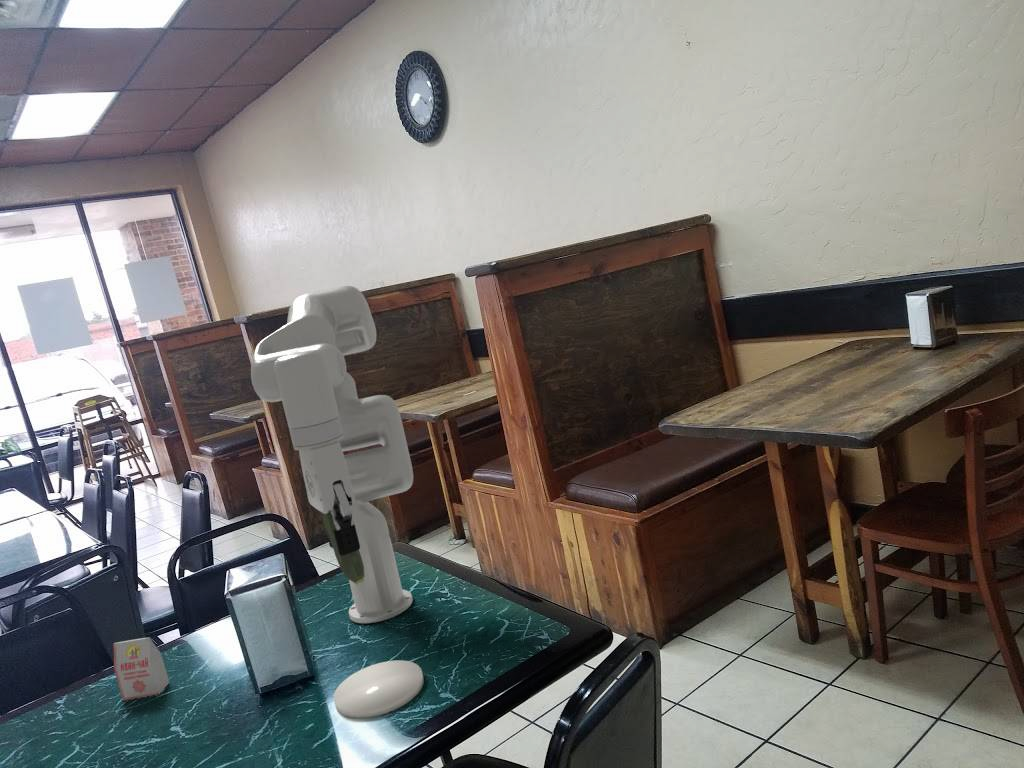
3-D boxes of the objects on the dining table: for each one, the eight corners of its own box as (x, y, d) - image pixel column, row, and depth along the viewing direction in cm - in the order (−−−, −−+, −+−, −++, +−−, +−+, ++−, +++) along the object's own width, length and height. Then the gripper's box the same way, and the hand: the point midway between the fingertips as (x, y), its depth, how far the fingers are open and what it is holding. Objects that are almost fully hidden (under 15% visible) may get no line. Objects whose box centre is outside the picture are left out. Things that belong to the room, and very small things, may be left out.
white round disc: (324, 692, 126) (323, 686, 125) (404, 657, 132) (403, 651, 132) (350, 730, 113) (349, 722, 113) (437, 689, 120) (436, 682, 120)
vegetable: (361, 590, 118) (330, 464, 115) (335, 593, 119) (303, 468, 115) (372, 578, 122) (342, 455, 119) (347, 581, 123) (316, 459, 120)
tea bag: (134, 689, 141) (119, 638, 139) (169, 683, 140) (154, 632, 139) (123, 700, 137) (107, 648, 136) (159, 694, 137) (144, 642, 135)
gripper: (279, 434, 122) (307, 544, 125) (306, 447, 107) (337, 571, 110) (326, 421, 125) (352, 528, 128) (358, 432, 111) (386, 553, 114)
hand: (345, 547), depth 119 cm, fingers closed on vegetable, 4 cm apart
